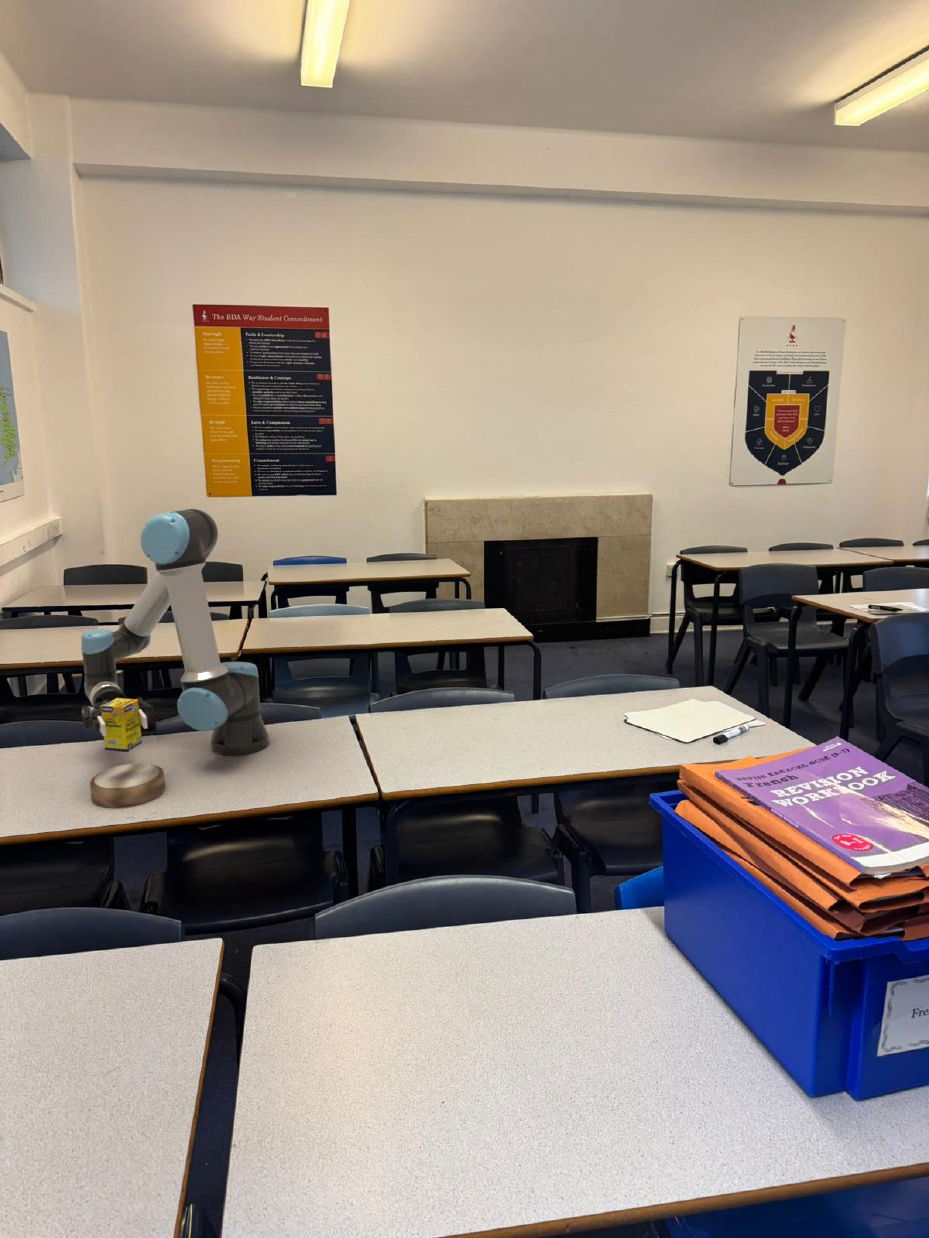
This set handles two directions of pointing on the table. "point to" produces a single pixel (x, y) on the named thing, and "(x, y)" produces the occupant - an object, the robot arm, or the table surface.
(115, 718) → the supplement box
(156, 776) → the podium
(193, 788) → the table surface
